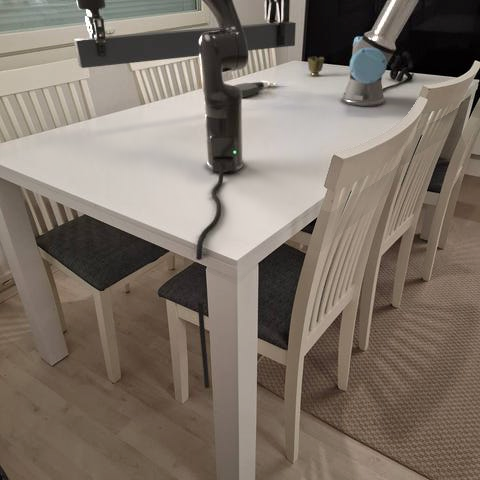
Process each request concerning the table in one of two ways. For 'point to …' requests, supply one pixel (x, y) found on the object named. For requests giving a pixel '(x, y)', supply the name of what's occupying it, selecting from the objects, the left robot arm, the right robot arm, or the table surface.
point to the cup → (315, 65)
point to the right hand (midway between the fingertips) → (276, 44)
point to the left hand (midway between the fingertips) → (100, 55)
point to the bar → (171, 44)
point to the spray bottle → (252, 87)
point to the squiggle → (400, 66)
